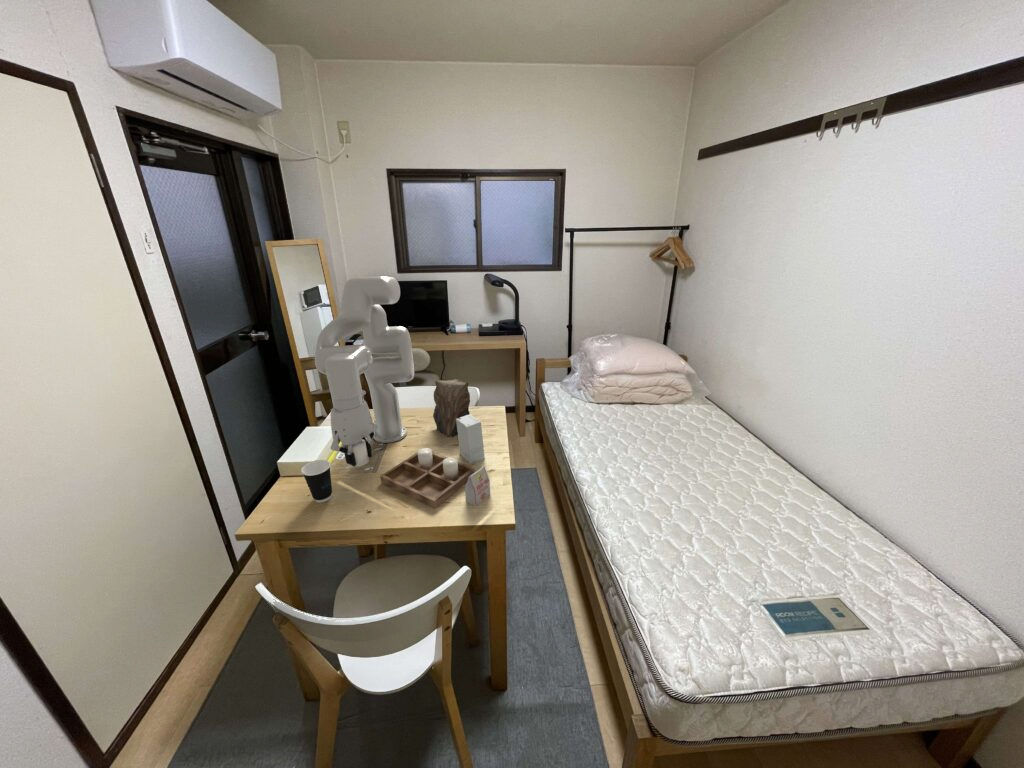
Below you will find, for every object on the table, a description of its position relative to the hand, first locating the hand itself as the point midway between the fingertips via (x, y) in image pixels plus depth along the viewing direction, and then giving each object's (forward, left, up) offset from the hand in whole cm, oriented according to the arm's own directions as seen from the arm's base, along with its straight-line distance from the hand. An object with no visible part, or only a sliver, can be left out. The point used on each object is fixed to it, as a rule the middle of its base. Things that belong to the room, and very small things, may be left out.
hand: (359, 459), depth 113 cm
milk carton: (+26, +19, -16) cm, 36 cm away
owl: (-9, +47, -16) cm, 51 cm away
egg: (0, 0, -1) cm, 1 cm away
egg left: (+1, +23, -15) cm, 28 cm away
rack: (+7, +18, -16) cm, 25 cm away
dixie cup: (-15, -5, -16) cm, 23 cm away
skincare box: (+10, +36, -16) cm, 41 cm away
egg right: (+12, +23, -15) cm, 30 cm away
